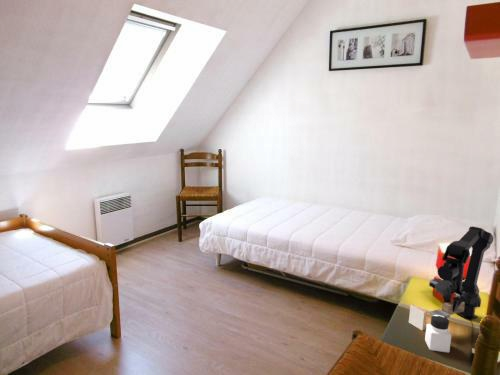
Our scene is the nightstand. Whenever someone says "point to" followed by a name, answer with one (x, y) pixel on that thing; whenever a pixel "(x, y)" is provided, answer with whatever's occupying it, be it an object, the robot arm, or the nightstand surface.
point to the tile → (417, 317)
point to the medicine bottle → (438, 334)
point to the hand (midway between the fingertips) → (450, 309)
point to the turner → (448, 309)
